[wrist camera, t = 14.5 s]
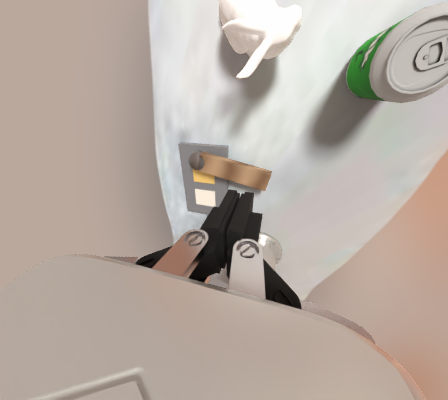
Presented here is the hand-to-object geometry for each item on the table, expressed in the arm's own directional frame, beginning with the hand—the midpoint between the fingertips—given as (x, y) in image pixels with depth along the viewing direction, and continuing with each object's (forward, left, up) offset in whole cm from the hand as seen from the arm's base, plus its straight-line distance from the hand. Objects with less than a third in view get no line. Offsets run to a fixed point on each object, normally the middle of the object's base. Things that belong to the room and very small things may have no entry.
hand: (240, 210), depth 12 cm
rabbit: (+14, -2, -27) cm, 31 cm away
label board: (-7, +17, -27) cm, 33 cm away
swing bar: (-4, +9, -25) cm, 27 cm away
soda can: (+4, -16, -27) cm, 32 cm away
